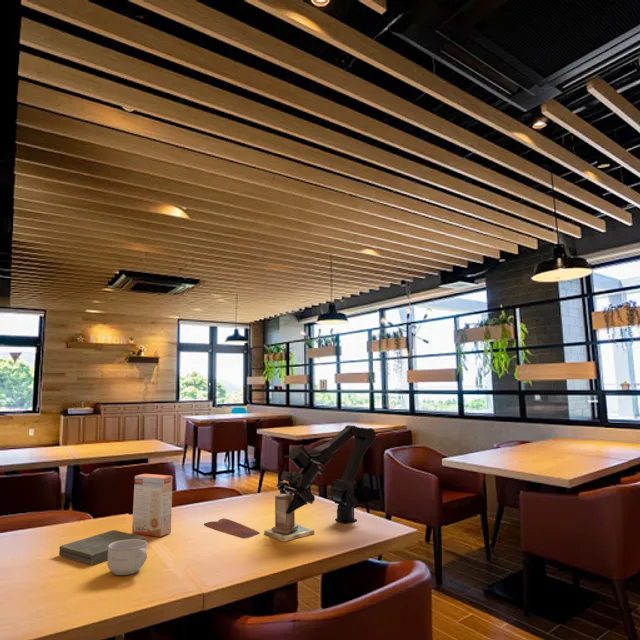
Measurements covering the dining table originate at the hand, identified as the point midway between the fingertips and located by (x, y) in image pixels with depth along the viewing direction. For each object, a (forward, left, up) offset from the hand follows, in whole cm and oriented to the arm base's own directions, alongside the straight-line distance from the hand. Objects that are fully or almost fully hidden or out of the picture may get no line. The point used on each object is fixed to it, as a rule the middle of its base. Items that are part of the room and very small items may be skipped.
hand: (281, 511), depth 171 cm
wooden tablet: (+10, -19, -9) cm, 24 cm away
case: (+55, -25, -9) cm, 61 cm away
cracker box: (+36, -34, -9) cm, 50 cm away
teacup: (+54, 0, -9) cm, 54 cm away
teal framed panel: (-3, 0, -8) cm, 9 cm away
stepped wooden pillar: (-1, 0, -7) cm, 7 cm away
